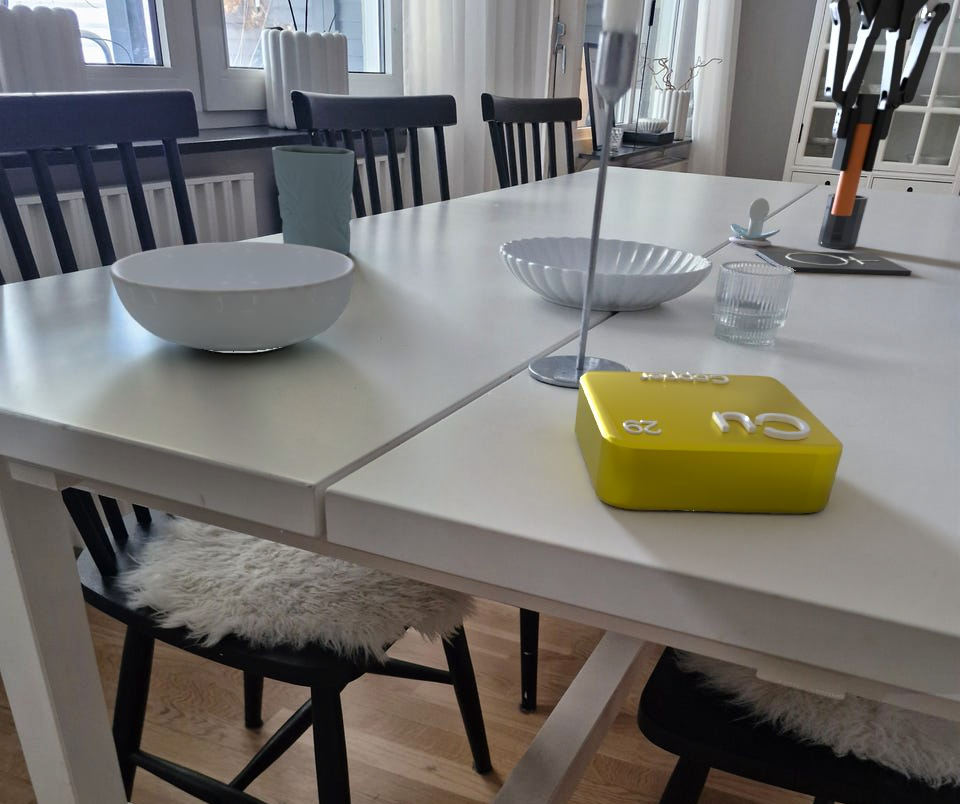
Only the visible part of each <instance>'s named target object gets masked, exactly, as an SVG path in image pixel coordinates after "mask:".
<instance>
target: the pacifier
mask: <svg viewBox="0 0 960 804" xmlns="http://www.w3.org/2000/svg"><path fill="white" fill-rule="evenodd" d="M769 213H770V204H769V202H768V200H766V198H763V197H758V198H756V199H754V200H753V201H752V202H751V203H750V204H749V207H748V217H749V222H748V228H747V229H746V228H744V227H742V226H740V225H738V224H736V223H731V225H730V228H731V230H732V231H733V232H734V233H735V234H736V235H735V236H730V237H729V238H728V240H729V241H730V242H731V243H734V242H735V243H734V244H738V243H739V245H744V244H746V245H745V246H753V245H754V247H768V246H770V245H772V241H770V240H768V239H767V238H770V237H773V236H775V235H776V234H778V233H779V232H780V231H781V229H780V228H779V229H777V230H773V231H769V232H765V233H762V232H763V229H764V223H765V219H766V218H768V215H769Z"/></svg>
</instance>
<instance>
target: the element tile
mask: <svg viewBox="0 0 960 804" xmlns="http://www.w3.org/2000/svg"><path fill="white" fill-rule="evenodd" d="M576 403H577V405H576V414H575V422H574V423H575V424H574V433H575V436H576V439H577V442H578V445H579V447H580V448H579V449H580V451H581V453H582V457H583V460H584V463H585V465H586V469H587V472H588V475H589V478H590V480H591V484H592V486H593V487H592V488H593V490H594V492H595V495H596V497H598V499H599V498H600V499H599V500H600V501H602V502H603V503H604V504H606V503H607V504H606V505H608V504H609V505H608V506H611V505H612V506H611V507H613V506H615V507H614V508H617V507H620V508H619V509H622V508H625V509H624V510H628V509H637V510H636V511H640V510H639V509H642V510H641V511H653V510H684V511H683V512H686V511H685V510H689V511H688V512H695V511H715V512H714V513H738V512H740V513H743V514H783V515H784V513H786V514H789V513H791V514H789V515H805V514H804V513H809V514H813V512H814V513H818V512H821V511H823V510H824V509H825V508H826V507H827V506H828V503H829V500H830V496H831V493H832V489H833V485H834V483H835V478H836V475H837V472H838V468H839V464H840V460H841V457H842V454H843V448H844V447H843V443H842V442H841V441H840V439H838V437H837V436H836V435H835V434H834V433H833V432H832V431H830V429H829V428H828V427H827V426H826V425H825V424H824V423H823V422H822V421H821V420H820V419H819V418H818V417H817V416H816V415H815V414H814V413H813V412H812V411H811V410H810V409H809V408H808V407H807V406H806V405H805V404H804V403H803V402H802V401H801V400H800V399H799V398H798V397H797V396H796V395H795V394H794V393H793V392H792V391H791V390H790V389H789V388H788V387H787V386H786V385H785V384H784V383H782V382H781V381H779V380H778V379H776V378H774V377H772V376H767V375H766V376H765V375H749V374H747V375H745V374H718V373H717V374H715V373H691V372H689V371H687V372H685V373H684V372H675V371H672V372H656V371H655V372H653V371H651V372H650V371H620V370H618V371H617V370H589V371H587V372H585V373H584V374H583V375H582V376H580V378H579V384H578V394H577V402H576ZM693 510H694V511H693ZM716 511H718V512H716ZM802 513H803V514H802ZM786 514H785V515H786Z"/></svg>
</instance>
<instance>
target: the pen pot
mask: <svg viewBox="0 0 960 804" xmlns="http://www.w3.org/2000/svg"><path fill="white" fill-rule="evenodd" d="M835 195H836V192H835V193H829V194H828V195H827V196H828V197H827V200H826V205H825V209H824V214H823V218H822V222H821V227H820V231H819V236H818V240H817V245H818V246H820V247H823V248H828V249H834V250H854V249H856V247H857V244H858V240H859V237H860V234H861V233H860V232H861V229H862V225H863V221H864V217H865V213H866V210H867V205H868V203H869V202H868V201H869V197H868V196H865V195H860V194H856V197H855V201H854V205H853V210H852V214H851V216H838V215H833V214H831V212H832V208H833V203H834V199H835Z"/></svg>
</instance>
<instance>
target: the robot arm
mask: <svg viewBox="0 0 960 804" xmlns="http://www.w3.org/2000/svg"><path fill="white" fill-rule="evenodd" d="M855 7H857V10H858V13H859V16H860V19H861V21H860V25H859V28H858V31H857V36H856V38H857V39H856V43H855V46H854V49H853V52H852V54H851V57H850V58H851V59H850V61H849V64H848V67H846V66H847V60H848V59H847V58H848V51H849V43H850V34H851V26H852V24H851V23H852V16H853V15H854V13H855ZM828 9H829V10H828V11H829V14H830V15H829V16H830V20H831V32H830V39H829V40H830V41H829V48H828V57H827V66H826V75H825V83H824V93H823V97H824V99H825V100H828V101H830V102H832V103H834V104H835V106H836V113H835V117H834V122H833V127H832V132H831V133H832V134H831V135H832V138H834V139H837V142H836V146H835V150H834V151H835V152H834V155H833V160H832V163H831V169H832V170H835V171H838V172H841V171H846V169H847V164H848V160H849V156H850V151H851V147H852V142H853V138H854V134H855V129H856V125H857V121H858V116H859V112H860V109H857V108H854V106H855V102H856V99H857V96H858V93H860V90H861V87H862V84H863V81H864V78H865V75H866V72H867V68H868V66H869V63H870V60H871V57H872V54H873V51H874V48H875V45H876V42H877V40H878V39H879V38H880V35H881V33H882V30H885V40H886V44H885V45H886V46H885V53H884V59H883V60H884V61H883V69H882V75H881V84H880V92H879V94H881V96H880V100H879V104H878V107H879V108H877V113H876V117H875V121H874V124H873V126H872V130H871V134H870V138H869V142H868V147H867V151H866V155H865V159H864V163H863V168H862V172H864V173H865V172H866V173H872V172H873V170H874V165H875V162H876V158H877V153H878V149H879V145H880V141H886V140H887V138H888V136H889V132H890V128H891V124H892V120H893V115H894V112H895V110H897V109H899V108H900V106H902V105H906V104H911V103H912V102H913V101H914V99H915V96H916V93H917V90H918V88H919V87H918V86H919V85H920V82H921V79H922V76H923V73H924V70H925V67H926V65H927V62H928V58H929V57H930V53H931V50H932V48H933V44H934V41H935V38H936V36H937V33H938V29H939V28H940V26H941V25H942V23H943V22H944V20H945V19H946V17H947V16H948V15H949V12H950V11H951V4H950V3H949V2H942V1H940V0H831V1H830V2H829V5H828ZM921 10H922V13H921V14H920V18H921V19H920V20H921V21H920V23H919V26H918V28H917V30H916V33H915V36H914V39H913V42H912V45H911V48H910V50H909V54H908V57H907V59H906V63H905V65H904V61H905V55H906V48H907V41H908V39H909V38H910V33H911V26H912V21H913V20H914V18H915V17H916V16H918V14H919V12H920V11H921ZM846 68H847V69H846ZM903 68H904V69H903Z"/></svg>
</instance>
